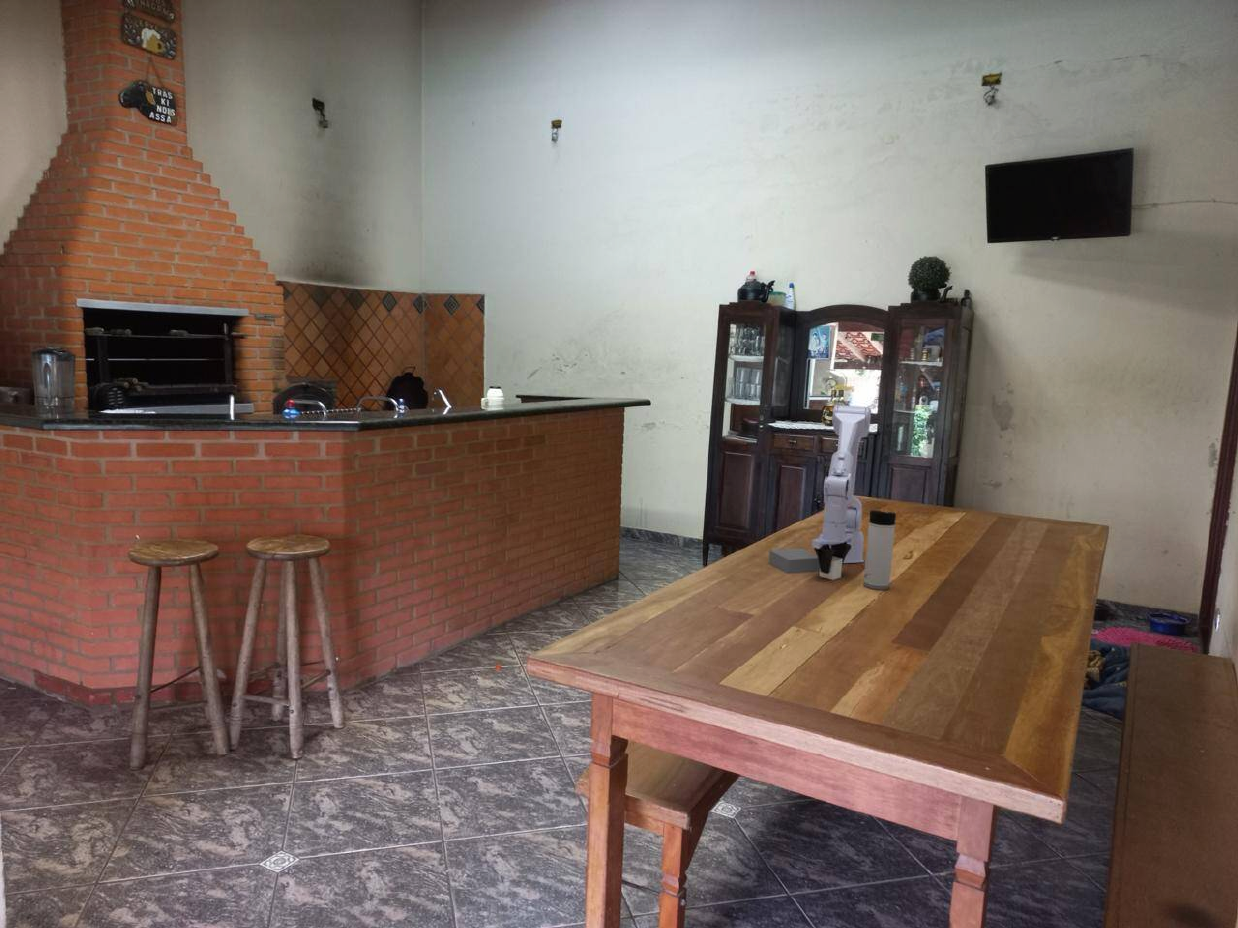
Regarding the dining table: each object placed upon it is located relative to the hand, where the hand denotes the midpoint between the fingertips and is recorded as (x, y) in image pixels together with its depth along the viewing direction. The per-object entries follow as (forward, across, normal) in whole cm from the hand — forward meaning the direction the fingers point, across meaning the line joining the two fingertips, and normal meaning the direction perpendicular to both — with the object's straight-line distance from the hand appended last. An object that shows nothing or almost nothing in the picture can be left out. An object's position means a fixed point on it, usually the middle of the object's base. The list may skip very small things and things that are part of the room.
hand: (830, 571), depth 204 cm
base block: (+2, +1, -11) cm, 11 cm away
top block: (+1, 0, 0) cm, 1 cm away
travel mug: (+2, -3, +12) cm, 12 cm away
